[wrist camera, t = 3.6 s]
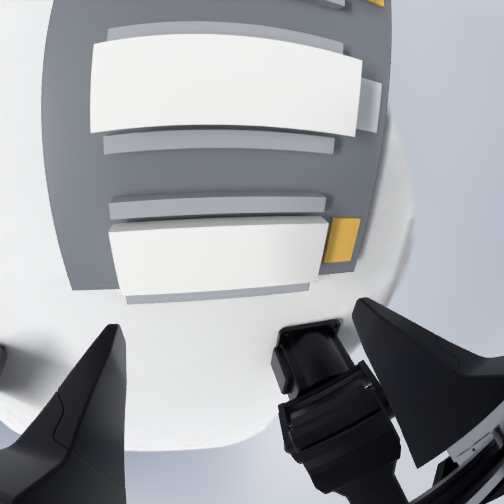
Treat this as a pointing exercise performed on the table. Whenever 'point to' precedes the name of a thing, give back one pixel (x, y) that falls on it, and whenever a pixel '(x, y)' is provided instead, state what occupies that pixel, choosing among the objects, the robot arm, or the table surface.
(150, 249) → the key
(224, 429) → the table surface
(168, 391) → the table surface
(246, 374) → the table surface
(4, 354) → the leaning round-cornered charcoal block
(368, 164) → the switch panel
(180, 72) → the key middle
